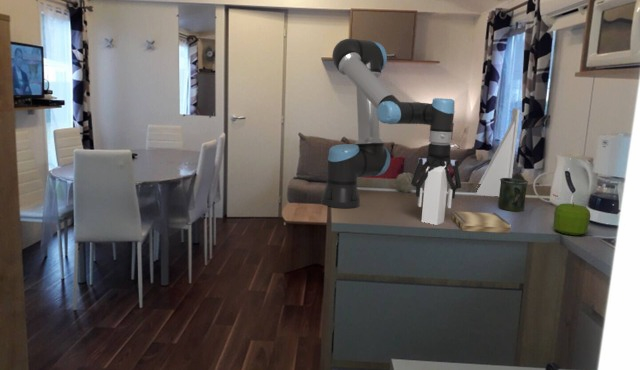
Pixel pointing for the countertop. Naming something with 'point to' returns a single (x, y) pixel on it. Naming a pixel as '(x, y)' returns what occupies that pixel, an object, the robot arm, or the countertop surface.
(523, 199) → the mug
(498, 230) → the dock
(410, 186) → the grey-green ball
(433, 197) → the milk
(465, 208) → the countertop surface
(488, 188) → the white bracket plate
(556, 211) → the apple
